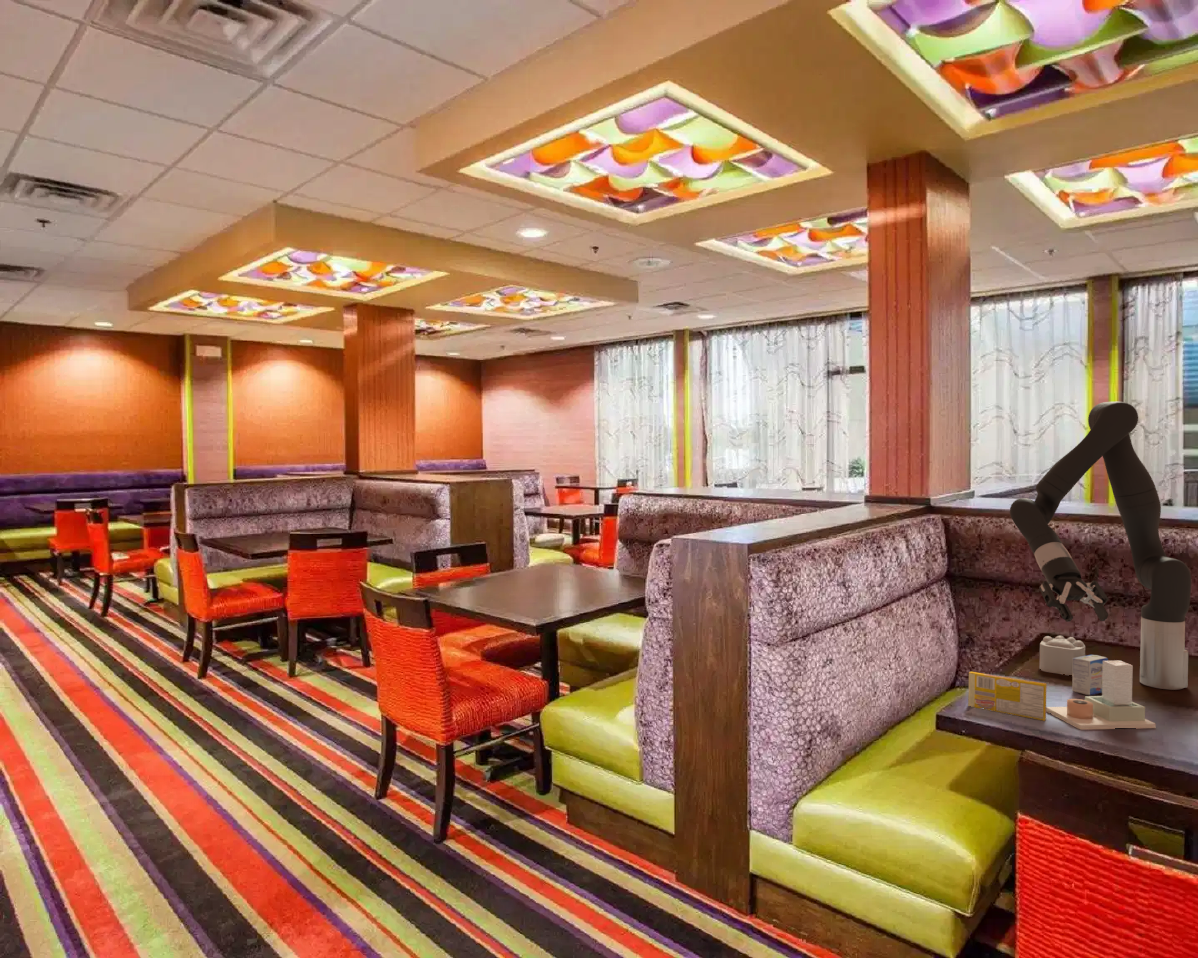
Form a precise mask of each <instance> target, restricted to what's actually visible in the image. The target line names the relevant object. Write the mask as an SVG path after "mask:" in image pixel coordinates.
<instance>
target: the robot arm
mask: <svg viewBox="0 0 1198 958" xmlns="http://www.w3.org/2000/svg"><path fill="white" fill-rule="evenodd" d="M1087 417H1088V418H1087V421H1088V426H1089V429H1090V430H1089V431H1088V433H1086V436H1085V437H1083V438H1082V440H1081V441H1080V442H1079V443H1078V444H1077V445H1076V446H1075V447H1074V448H1073V449H1071V450H1070V451H1068V452H1067V453H1066V454H1065V455H1064V456H1062V457H1061V458H1060V459H1058V461H1057V462H1056V463H1055V464H1054V465H1052V466H1051V467H1050V469H1049V470H1048V471H1047V472H1046V473H1045V474H1044V476H1043V477H1042V478H1041V479H1040V480H1039V481H1038V482H1037V483H1036V485H1035V491H1036V494H1037V495H1036V498H1035V499H1034V500H1033V499H1030V498H1028V497H1021V498H1017V499H1015V500H1014V501H1013V502H1012V503H1011V505H1010V507H1009V514H1010V515H1009V516H1010V518H1011V520H1012V522H1013V524H1014V525H1015V526H1016V528H1017V530H1018V531H1019V532H1020V533H1021V535H1022V536H1023V537H1024V539H1025V540H1026V542H1027V544H1028V546H1029V548H1030V550H1031V552H1032V554H1033V556H1034V558H1035V561H1036V563H1037V565H1038V567H1039V569H1040V571H1041V573H1042V575H1043V576H1044V578H1045V580H1046V581H1045V580H1044V581H1042V583H1041V585H1039V587H1038V588H1039V591H1040V594H1041V596H1042V599H1043V600H1044V603H1045V604H1046V606H1047V607H1049V608H1055V609H1057V611H1058V612H1059V614H1060V617H1061V619H1063V620H1065V622H1067V623H1068V622H1071V621H1072V620H1073V619H1074V616H1073V613H1072V612H1071V610H1070V608H1069V606H1068V604H1067V603H1066V600H1067V601H1069V602H1070V601H1080V602H1082V603H1083V604H1087V605H1089V606H1090V607H1092V608H1093V611H1094V613H1095V614H1096V616H1097V618H1098V619H1099V621H1100V622H1105V621H1106V620H1107V619H1108V617H1109V613H1108V611H1107V610H1106V608H1105V604H1106V603H1107V602H1108V601H1109V600H1110V599H1109V597H1108V595H1106V593H1105V591H1104V590H1103V589H1102V587H1101V586H1100V584H1099V582H1098V581H1097V580H1092V581H1091V582H1085V581H1084V580H1083V578H1082V574H1081V571H1080V569H1079V567H1078V566H1077V564H1076V562H1075V561H1074V559H1073V558H1072V555H1071V554H1070V553H1069V551H1068V549H1067V548H1066V547H1065V545H1064V543H1063V542H1062V540H1061V539H1060V537H1059V535H1058V534H1057V532H1056V531H1055V530H1054V529H1053V528H1052V527H1051V526H1050V525H1049V524H1050V522H1051V521H1052V520H1053V517H1054V515H1055V513H1056V512H1057V510H1058V508H1059V506H1060V504H1061V501H1062V500H1063V499H1065V497H1066V496H1067V494H1068V493H1069V492H1070V491H1071V490H1072V489H1073V488H1074V487H1075V486H1076V485H1077V483H1078V482H1079V481H1080V480H1081V479H1082V477H1083V476H1084V475H1085V474H1086V473H1087V472H1088V471H1089V470H1090V469H1091V468H1092V467H1093V466H1094V465H1095V464H1096V463H1097V462H1098V461H1099V460H1100V459H1101V458H1102V459H1103V462H1104V466H1105V471H1106V475H1107V477H1108V481H1109V483H1110V485H1111V490H1112V494H1113V497H1114V501H1115V503H1116V506H1117V509H1118V512H1119V515H1120V517H1121V520H1122V525H1123V527H1124V531H1125V533H1126V536H1127V540H1128V543H1129V547H1130V551H1131V556H1132V557H1131V558H1132V562H1133V566H1134V572H1135V576H1136V579H1137V580H1138V582H1139V583H1140V584H1141V585H1142V586H1143V587H1145V588H1147V589H1149V590H1150V600H1149V602H1148V603H1147V604H1143V605H1142V606H1141V610H1140V648H1139V649H1140V653H1139V656H1140V657H1139V665H1140V666H1139V683H1141V684H1142V685H1144V686H1147V687H1151V688H1156V689H1163V690H1171V691H1172V690H1173V691H1174V690H1175V691H1177V690H1182V689H1184V688H1188V686H1189V685H1188V681H1189V679H1188V675H1189V650H1187V649H1185V648H1186V647H1185V645H1186V642H1185V640H1186V616H1187V613H1188V612H1189V609H1190V603H1191V592H1192V591H1191V590H1192V574H1191V570H1190V568H1189V567H1188V566H1187V564H1186V563H1184V561H1181V560H1180V559H1176V558H1173V557H1168V556H1167V555H1166V552H1165V549H1164V547H1163V545H1162V541H1161V537H1160V533H1159V528H1160V521H1161V515H1162V505H1161V500H1160V497H1159V493H1158V491H1157V488H1156V485H1155V482H1154V480H1153V478H1152V476H1151V474H1150V472H1149V471H1148V469H1147V468H1146V466H1145V465H1144V463H1143V462H1142V461H1141V459H1140V458H1139V457H1138V455H1137V453H1136V451H1135V448H1134V446H1133V443H1132V439H1131V436H1130V433H1131V432H1133V431H1134V430H1135V428H1136V427H1137V425H1138V422H1139V414H1138V411H1137V409H1136V407H1135V406H1133V405H1132V404H1130V403H1128V402H1124V401H1104V402H1100V403H1098V404H1096V405H1095V406H1093V407H1092V409H1091V410H1090V411H1089V414H1088V416H1087ZM1054 593H1056V594H1057V596H1055V594H1054ZM1086 595H1087V597H1085V596H1086Z"/></svg>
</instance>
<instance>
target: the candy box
mask: <svg viewBox="0 0 1198 958" xmlns="http://www.w3.org/2000/svg"><path fill="white" fill-rule="evenodd" d="M1047 687H1048V686H1047V683H1046V682H1045V683H1044V682H1040V681H1039V682H1038V681H1033V680H1026V679H1020V678H1013V677H1008V676H1007V677H1006V676H1000V675H994V674H988V673H982V672H975V671H969V672H968V699H967V700H968V702H967V706H968V707H969V706H971V707H970V708H975V709H980V708H984V709H983V710H985V709H987V710H986V711H990V710H991V712H997V713H1001V714H1006V713H1007V715H1011V714H1012V716H1016V717H1022V718H1027V719H1032V718H1033V720H1038V721H1043V722H1045V721H1046V720H1047V712H1046V707H1047Z"/></svg>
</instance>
